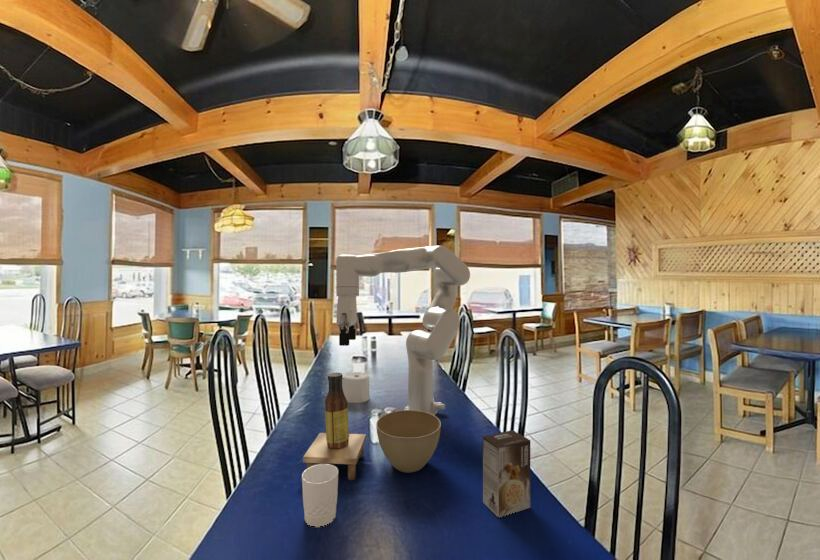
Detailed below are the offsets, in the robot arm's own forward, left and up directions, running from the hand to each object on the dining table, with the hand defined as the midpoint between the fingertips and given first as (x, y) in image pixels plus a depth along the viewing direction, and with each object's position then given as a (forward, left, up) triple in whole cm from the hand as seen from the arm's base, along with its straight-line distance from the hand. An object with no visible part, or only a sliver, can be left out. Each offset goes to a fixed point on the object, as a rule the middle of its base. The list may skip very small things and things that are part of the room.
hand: (347, 342), depth 124 cm
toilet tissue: (+4, -30, -31) cm, 43 cm away
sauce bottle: (-2, +22, -24) cm, 33 cm away
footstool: (-2, +22, -30) cm, 37 cm away
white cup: (-4, +43, -31) cm, 53 cm away
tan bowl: (-22, +20, -31) cm, 43 cm away
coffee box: (-46, +36, -31) cm, 66 cm away
